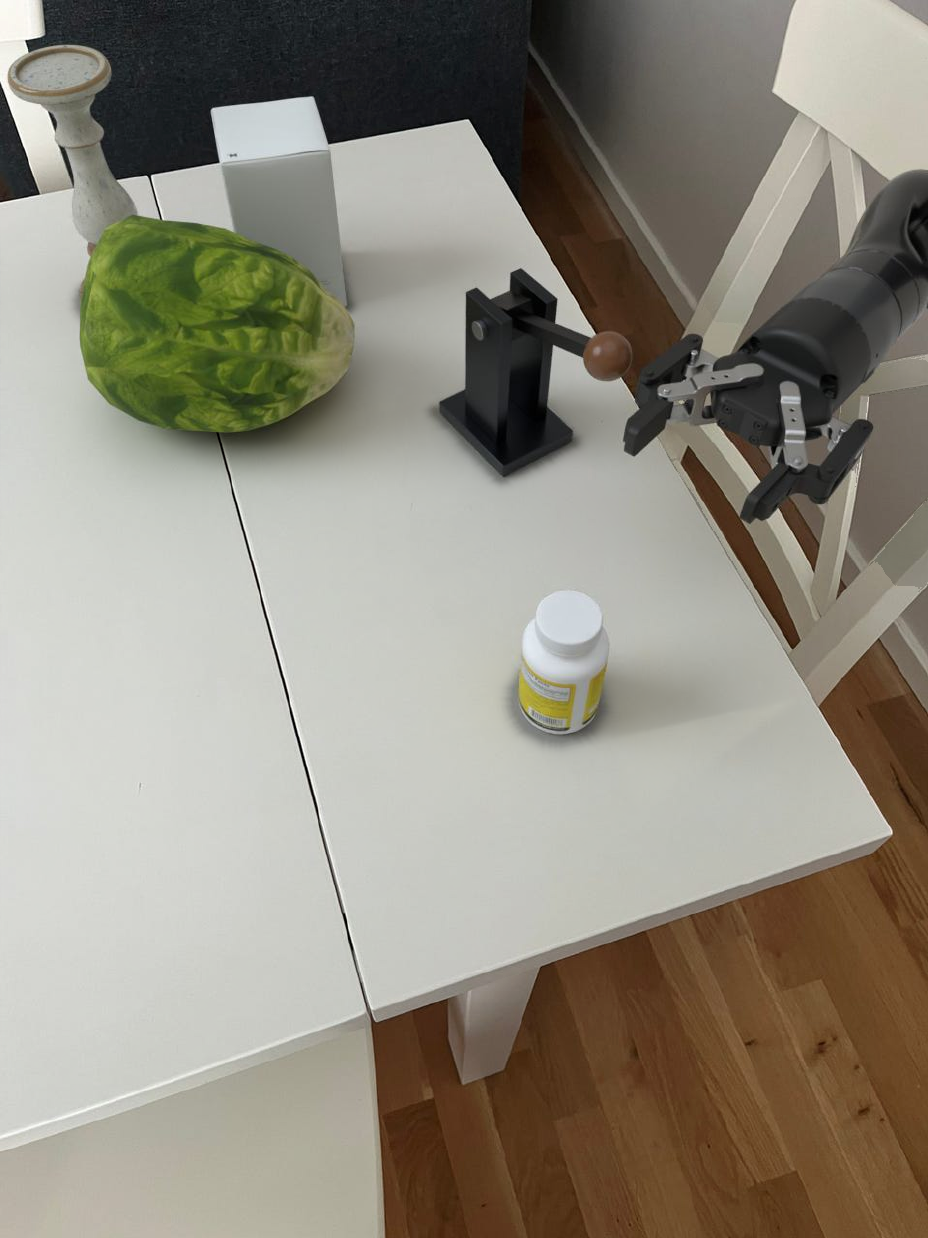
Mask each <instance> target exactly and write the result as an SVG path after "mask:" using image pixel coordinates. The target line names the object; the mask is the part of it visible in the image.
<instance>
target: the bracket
mask: <svg viewBox="0 0 928 1238" xmlns="http://www.w3.org/2000/svg"><path fill="white" fill-rule="evenodd" d="M509 274H510V276H509V291H511V292H514V293H516V294H519V295H521V296H524V297H526V298H529V299H531V300H532V308H533V314H534V315H536V316H539V317H541V318H543V319H546V320H548V321H551V322H553V323H556V320H557V311H558V301H559V299H558V297H557V296H555V295H554V294H553V293H552V292H551V291H549V290H548V289H547V288H546V287H545V286H544V285H542V284H541V283H540V282H539V281H537V280H536V279H535V278H534V277H532V276H531V275H530V274H529V273H528V272H527V271H525V270H524V269H523V268H522V267H520V268H517V269H516V270H513V271H511V272H510V273H509ZM490 299H491V298H490V297H489V296H487V295H486V294H485V293H484V292H483V291H481V290H480V289H479V288H478V287H476V286H475V287H474V288H472V289H469V290H467V291H465V336H464V337H465V349H464V350H465V352H464V353H465V354H464V355H465V356H464V357H465V358H464V360H465V361H464V363H465V364H464V365H465V367H464V370H465V371H464V389H463V390H460V391H458V392H456V393H454V394H452V395H450V396H447V397H445V398H443V399H441V400H439V402H438V409H439V413H440V414H441V415H442V416H443V418H445V419H446V421H448V423H449V424H450V425H451V426H452V427H453V428H454V429H456V431H457V432H458V433H459V434H460V435H461V436H462V437H463V438H464V439H465V440H466V441H467V442H468V443H469V444H470V445H471V446H472V447H473V448H474V449H475V450H476V451H477V452H478V453H479V454H480V455H481V456H482V457H483V459H485V460H486V462H488V463H489V464H490V466H492V467H493V469H495V470H496V472H497V473H498V474H499V475H500V476H501V477H505V476H508V475H509V474H511V473H513V472H515V471H517V470H519V469H521V468H523V467H525V466H527V465H529V464H531V463H533V462H535V461H537V460H538V459H540V458H542V457H544V456H546V455H548V454H550V453H552V452H554V451H556V450H557V449H560V448H562V447H563V446H565V445H568V444H570V443H572V441H573V437H574V436H573V435H574V430H573V429H572V428H571V427H570V426H569V425H568V424H566V422H564V420H562V419H561V418H560V417H559V416H558V415H557V414H556V413H555V412H554V411H553V410H551V408H549V406H548V402H549V393H550V391H549V390H550V381H551V373H552V362H553V352H554V345H552V344H549V343H547V342H545V341H542V340H540V339H538V338H535V337H533V336H531V335H528V334H527V335H525V336H523V337H520V338H518V339H516V340H514V341H511V339H512V321H513V320H512V318H511V317H510V316H508V315H507V314H506V313H505V312H504V311H503V310H502V309H501V308H499V307H498V306H497V305H496V304H495V303H494V302H493V301H492V300H490Z"/></svg>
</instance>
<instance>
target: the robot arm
mask: <svg viewBox="0 0 928 1238" xmlns="http://www.w3.org/2000/svg"><path fill="white" fill-rule="evenodd" d="M926 309H927V310H928V169H925V168H924V169H923V168H918V169H917V168H916V169H911V170H907V171H904V172H902V173H900V174H897V175H896V176H895V177H893V178H892V179H890V180H889V181H888V182H887V183H885V184H884V185H883V186H882V187H881V188H880V190H879V191H877V193H876V194H875V195H874V196H873V197H872V199H871V200H870V202H869V203H868V205H867V206H866V208H865V209H864V211H863V213H862V215H861V217H860V219H859V221H858V222H857V225H856V227H855V230H854V232H853V233H852V236H851V239H850V242H849V245H848V247H847V249H846V251H845V253H844V254H843V255H842V256H841V257H840V258H839V259H838V260H837V261H836V262H835V263H834V264H833V265H832V266H831V267H829V268H828V269H827V270H826V271H825V272H824V273H823V274H822V275H821V276H820V277H819V278H817V279H816V280H814V281H812V282H810V283H809V284H807V285H806V286H805V287H803V288H802V289H800V290H799V291H798V292H797V293H796V294H794V295H793V296H792V297H791V298H790V300H788V301H787V302H786V303H785V304H784V305H783V306H782V307H780V308H779V310H777V311H776V312H775V313H774V314H773V315H771V317H769V319H767V320H766V321H765V322H764V323H763V324H761V326H760V327H758V328H757V330H756V331H754V332H753V333H751V335H750V336H748V338H747V339H746V340H745V341H744V342H743V343H742V344H741V345H740V347H739V348H738V349H737V350H736V351H735V352H733V353H731V354H727V355H723V356H721V357H718V356H716V355H714V354H712V353H710V352H709V351H707V350H705V349H703V347H702V346H703V343H704V338H703V337H702V335H700V334H698V333H689V334H687V335H685V336H684V337H682V338H681V339H680V340H679V341H677V342H676V343H674V344H673V345H672V346H670V347H669V348H668V349H667V350H665V351H664V352H663V353H662V354H660V355H658V356H657V357H656V358H655V359H653V360H652V361H651V362H649V363H648V364H647V365H645V366H644V367H643V368H641V369H640V371H639V377H638V383H637V387H636V392H635V398H634V403H635V405H636V406H638V407H640V408H639V409H637V411H635V412H634V413H633V414H631V416H629V417H628V418H627V420H626V423H625V426H624V433H623V438H622V442H623V443H624V445H623V451H624V452H625V453H626V454H628V455H629V456H631V457H633V458H634V457H636V456H638V455H639V453H641V452H642V450H644V449H645V448H646V447H647V446H649V444H650V443H651V442H653V440H655V439H656V438H657V437H658V436H659V435H660V434H661V433H662V432H663V431H664V430H666V426H667V425H674V424H680V423H681V424H682V423H688V425H689V426H691V427H699V426H704V425H711V424H716V426H717V427H719V428H720V429H723V430H724V431H726V432H728V433H733V434H735V435H738V436H739V437H741V438H742V439H743V440H744V441H745V442H746V443H749V444H750V445H752V446H754V447H756V448H759V447H761V446H763V447H767V449H768V450H767V451H768V456H769V461H770V468H771V470H770V471H769V472H768V473H767V475H765V477H763V478H762V480H760V481H759V482H758V483H757V484H756V486H755V487H754V488H753V489H752V490H751V491H750V492H749V493H748V495H747V496H746V497H745V500H744V502H743V506H742V508H741V510H740V514H739V517H738V518H739V520H742V521H743V522H745V523H746V524H748V525H751V524H752V523H753V522H755V520H756V519H757V520H759V521H760V522H763V521H766V520H768V519H770V518H771V517H772V516H773V514H774V513H775V512H776V511H777V510H778V509H779V508H780V507H781V506H782V505H783V504H784V503H785V501H787V499H788V498H789V497H791V496H795V495H796V494H802V495H805V496H807V497H808V500H809V501H810V502H812V503H813V504H816V505H824V504H827V503H828V501H829V500H830V498H831V497H832V496H833V494H834V493H835V492H836V490H837V489H838V488H839V486H840V485H841V483H842V482H843V481H844V480H845V478H846V477H847V476H848V474H849V473H850V472H851V470H852V469H853V468H854V466H855V465H856V464H857V462H858V461H859V459H860V458H861V457H862V454H863V452H864V450H865V448H866V446H867V444H868V441H869V439H870V437H871V435H872V433H873V430H874V425H873V423H872V422H871V421H869V420H868V419H866V418H865V419H864V418H859V419H855V420H854V421H853V423H852V424H850V423H848V422H846V421H844V420H842V419H839V418H838V417H835V416H833V415H834V414H835V412H836V411H837V410H838V409H839V408H840V407H841V406H842V405H843V404H844V403H845V402H846V401H847V400H848V399H849V398H850V397H851V395H852V394H854V393H855V391H857V390H858V388H859V387H860V386H861V385H863V384H866V382H867V381H868V380H869V379H870V378H871V376H872V375H873V374H874V373H875V370H876V369H877V368H878V367H879V366H880V364H881V363H882V362H883V360H884V359H885V357H886V356H887V354H888V353H889V351H890V350H891V348H892V347H893V346H894V345H895V344H896V343H897V342H898V341H899V339H901V338H902V337H903V336H904V334H906V333H907V331H909V329H910V328H911V327H912V326H914V324H915V323H916V322H917V321H918V320H919V319H920V318H921V316H922V314H923V313H924V311H926ZM709 394H710V404H708V405H705V404H706V399H707V397H708V395H709ZM680 401H684V402H683V403H680V404H675V402H680ZM674 404H675V405H674ZM823 436H824V437H825V438H826V439H827V445H826V449H827V451H828V452H829V453H828V455H827V456H826V457H825V459H823V461H822V463H821V464H820V465H816V464H814V463H813V464H812V463H810V462H809V460H808V454H807V448H806V442H807V441H813V440H817V439H820V438H821V437H823Z"/></svg>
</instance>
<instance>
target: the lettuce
mask: <svg viewBox="0 0 928 1238" xmlns="http://www.w3.org/2000/svg"><path fill="white" fill-rule="evenodd" d="M84 279H85V281H84V287H83V292H82V297H81V300H80V310H79V311H80V313H79V314H80V315H79V347H80V351H81V356H82V359H83V360H82V361H83V365H84V368H85V373H86V377H87V380H88V381H89V382H90V383H91V385H92V386H93V388H95V389H96V390H97V392H98V393H99V394H100V395H101V396H102V397H103V398H104V400H105V401H106V402H107V403H108V404H109V405H111V406H112V407H114V408H116V409H118V410H119V411H121V412H123V413H125V414H126V415H128V416H130V417H132V418H133V419H135V420H137V421H139V422H142V423H146V424H148V425H153V426H156V427H159V428H163V429H166V430H176V431H192V432H193V431H194V432H195V431H196V432H211V433H227V434H228V433H238V432H248V431H252V430H256V429H259V428H262V427H267V426H269V425H272V424H274V423H277V422H279V421H281V420H284V419H285V418H288V417H290V416H291V415H293V414H294V413H296V412H297V411H299V410H300V409H302V408H303V407H305V406H306V405H307V404H309V403H311V402H313V401H315V400H316V399H318V398H320V397H321V396H324V395H325V394H327V393H328V392H329V391H330V390H331V389H332V388H334V387H335V386H336V385H337V384H338V383H339V382H340V380H341V379H342V378H343V377H344V376H345V374H346V373H347V371H348V370H349V367H350V364H351V360H352V355H353V352H354V344H355V337H356V336H355V335H356V324H355V321H354V320H353V318H352V316H351V314H350V313H349V311H348V310H347V308H346V306H345V307H344V305H343V304H342V303H341V302H340V301H339V300H338V299H337V298H336V297H334V296H333V295H332V294H331V293H330V292H329V291H328V290H326V289H325V288H324V287H323V286H322V284H321V283H320V282H319V281H318V280H317V278H316V277H315V276H314V275H313V274H312V272H311V271H309V270H308V269H307V268H306V267H304V266H303V265H302V264H300V263H299V262H298V261H296V260H295V259H294V258H292V257H290V256H288V255H286V254H284V253H282V252H280V251H278V250H276V249H274V248H271V247H268V246H266V245H263V244H260V243H257V242H254V241H252V240H250V239H248V238H245V237H243V236H241V235H239V234H236V233H234V232H233V230H230V229H227V228H224V227H220V226H214V225H208V224H203V223H198V222H188V221H177V220H164V219H160V218H159V219H158V218H153V217H147V216H143V215H138V216H137V215H131V216H129V217H127V218H125V219H123V220H121V221H119V222H117V223H115V224H112V225H110V226H108V227H106V228H105V230H104V232H103V234H102V236H101V238H100V240H99V242H98V244H97V246H96V248H95V249H94V251H93V253H92V255H91V257H90V256H89V260H88V262H87V266H86V271H85V276H84Z"/></svg>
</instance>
